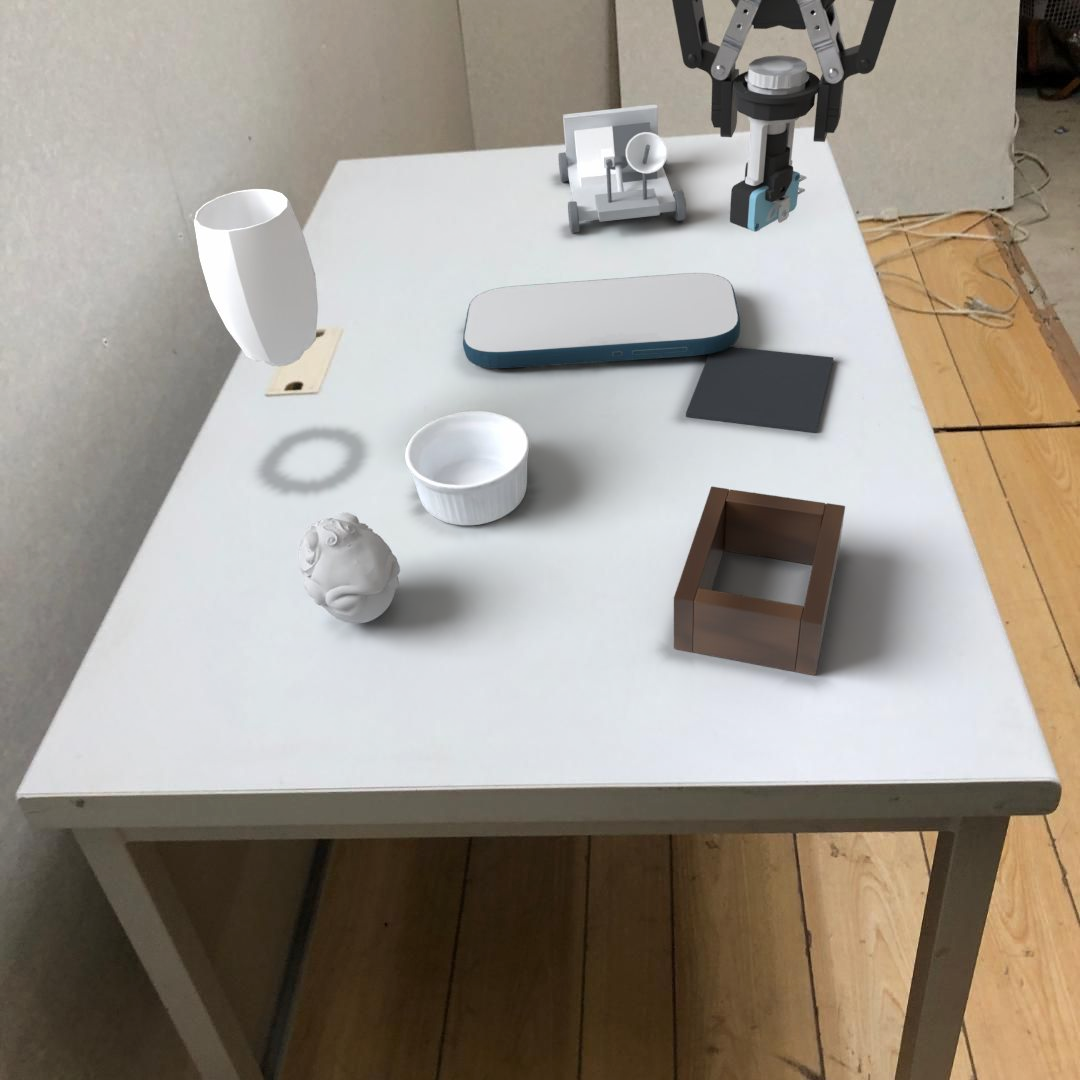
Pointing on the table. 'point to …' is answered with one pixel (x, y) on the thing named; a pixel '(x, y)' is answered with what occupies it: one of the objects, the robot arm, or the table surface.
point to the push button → (771, 138)
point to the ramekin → (469, 466)
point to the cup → (259, 273)
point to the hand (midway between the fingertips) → (774, 133)
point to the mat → (762, 388)
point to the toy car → (617, 166)
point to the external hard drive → (601, 321)
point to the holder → (753, 622)
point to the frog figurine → (348, 568)
